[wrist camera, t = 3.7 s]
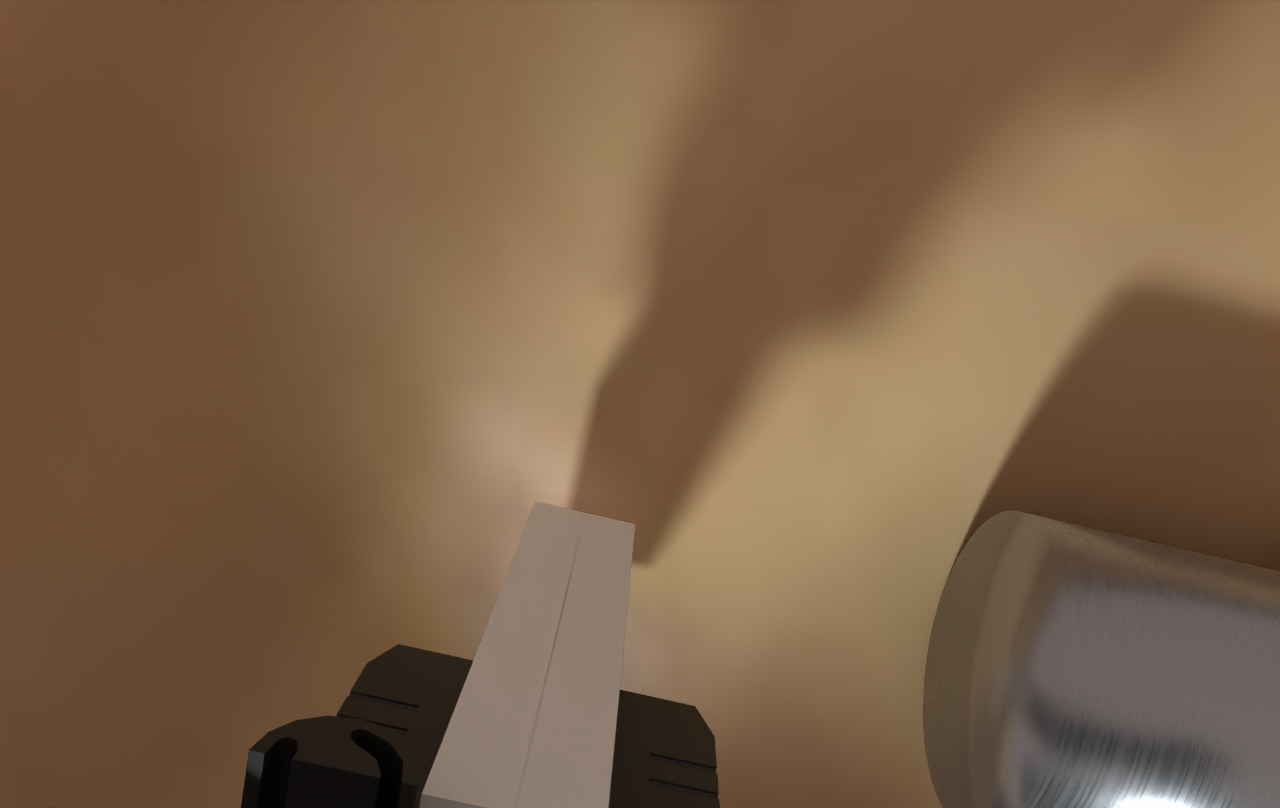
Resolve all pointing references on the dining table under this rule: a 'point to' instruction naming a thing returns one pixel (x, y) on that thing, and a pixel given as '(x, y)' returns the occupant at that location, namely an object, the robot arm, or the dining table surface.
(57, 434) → the dining table surface
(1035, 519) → the tube
